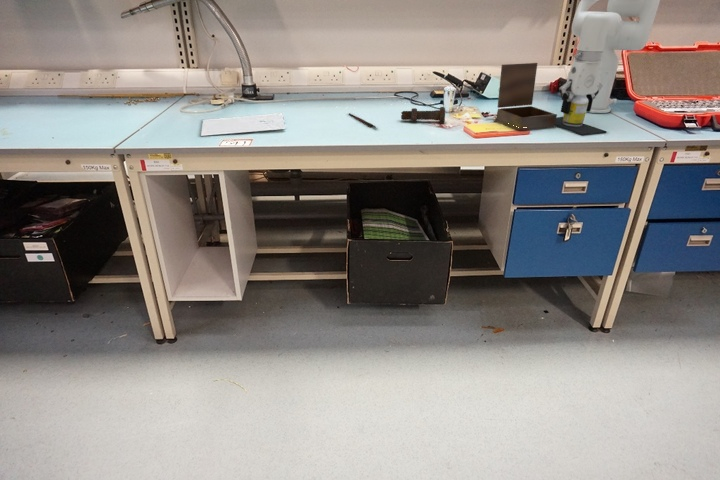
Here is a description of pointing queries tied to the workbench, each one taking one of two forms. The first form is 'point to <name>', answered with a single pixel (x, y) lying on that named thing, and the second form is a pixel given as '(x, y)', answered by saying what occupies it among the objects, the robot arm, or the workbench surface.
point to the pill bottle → (576, 111)
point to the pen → (363, 121)
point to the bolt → (424, 115)
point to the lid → (517, 84)
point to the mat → (578, 128)
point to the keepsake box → (526, 118)
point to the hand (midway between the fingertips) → (575, 111)
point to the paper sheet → (242, 124)
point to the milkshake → (449, 98)
